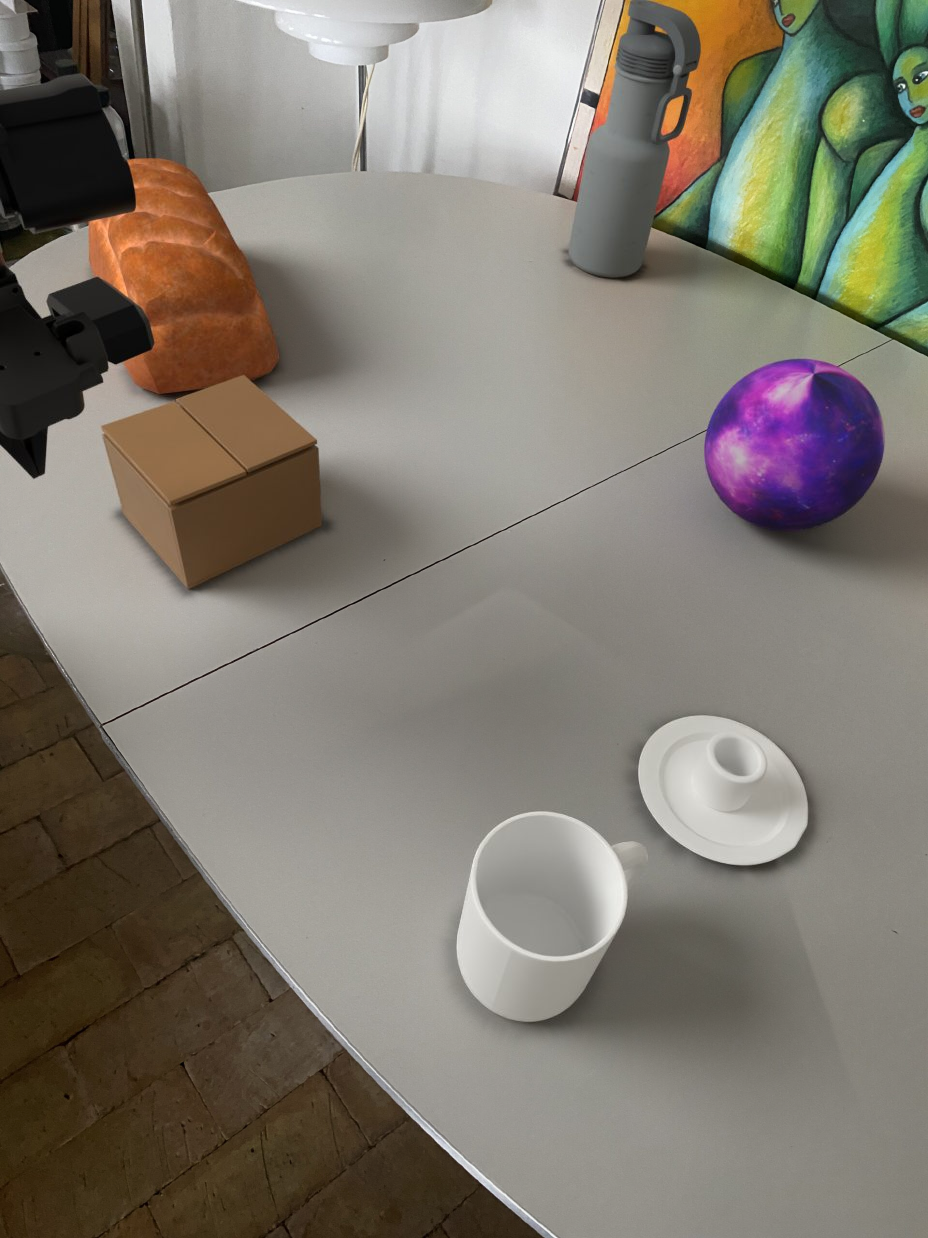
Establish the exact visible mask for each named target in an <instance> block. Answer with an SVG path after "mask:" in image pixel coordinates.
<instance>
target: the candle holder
mask: <svg viewBox="0 0 928 1238" xmlns="http://www.w3.org/2000/svg"><path fill="white" fill-rule="evenodd" d="M637 768H638V770H637V771H638V772H637V773H638V774H637V775H638V783H639V784H638V785H639V789H640V792H641V795H642V798H643V800H644V802H645V803H644V804H645V805H646V807H647V809H648V810H649V812H650V814H651V815H652V817H653V818H654V819H655V821H656V822H657V823H658V824H659V826H660V827H661V828H662V829H663V830H664V831H665V833H667V834H668V835H669V836H670V837H671V838H672V839H673V840H674V841H676V842H677V843H678V844H680V845H681V846H683V847H685V848H686V849H687V850H689V851H691V852H693V853H695V855H699V856H701V857H703V858H706V859H708V860H710V861H714V862H717V863H722V864H725V865H733V866H754V865H760V864H764V863H768V862H771V861H774V860H777V859H778V858H780V857H782V856H783V855H786V854H788V853H789V852H790V851H792V850H793V849H795V848H796V846H797V845H798V843H799V841H800V839H801V838H802V836H803V834H804V832H805V831H806V829H807V826H808V822H809V821H808V820H809V819H808V818H809V804H808V796H807V792H806V788H805V785H804V782H803V780H802V778H801V776H800V774H799V772H798V770H797V768H796V767H795V765H794V764H793V762H792V761H791V759H790V758H789V757H788V756H787V755H786V754H785V752H784V751H783V750H782V749H780V747H779V746H778V745H777V744H775V743H774V742H773V741H772V740H771V739H769V737H767V736H765V735H764V734H762V733H761V732H759V731H757V730H756V729H754V728H752V727H750V726H748V725H746V724H744V723H741V722H738V721H736V720H733V719H730V718H726V717H723V716H722V717H721V716H715V715H705V714H704V715H703V714H702V715H701V714H700V715H689V716H684V717H680V718H676V719H673V720H671V721H669V722H668V723H665V724H664V725H662V726H660V727H659V728H658V729H657V730H655V732H654V733H652V735H651V736H650V737H649V738H648V740H647V741H646V742H645V744H644V746H643V748H642V750H641V753H640V756H639V761H638V767H637Z"/></svg>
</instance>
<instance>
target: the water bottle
mask: <svg viewBox="0 0 928 1238" xmlns="http://www.w3.org/2000/svg"><path fill="white" fill-rule="evenodd" d="M627 16H628V17H629V21H628V25H627V29H626V33H623V34H622V35H621V36H620V37H619V41H618V46H617V51H616V52H617V53H616V57H615V63H614V65H613V68H614V71H615V72H614V73H615V74H614V78H613V84H612V89H611V94H610V99H609V104H608V109H607V114H606V119H605V123H604V124H602V125H600V126H597V128H596V129H595V130H594V131H592V133H591V134H590V136H589V139H588V142H587V145H586V152H585V155H584V163H583V167H582V172H581V173H582V174H581V178H580V183H579V189H578V195H577V199H576V205H575V211H574V215H573V222H572V227H571V232H570V239H569V244H568V257H569V259H570V261H571V262H572V263H573V265H575V266H576V267H577V268H578V269H579V270H581V271H583V272H586V273H588V274H589V275H594V276H596V277H602V278H614V279H615V278H624V277H629V276H631V275H633V274H635V273H636V272H637V271H639V269H640V268H641V267H642V265H643V263H644V258H645V255H646V250H647V246H648V242H649V240H650V239H649V238H650V234H651V230H652V227H653V223H654V218H655V215H656V211H657V207H658V202H659V199H660V195H661V191H662V187H663V183H664V179H665V175H666V171H667V168H668V162H669V159H670V153H671V149H670V145H669V142H670V141H672V140H674V139H677V138H678V137H680V135H681V134H682V131H683V130H684V127H685V124H686V121H687V116H688V114H689V110H690V109H689V108H690V104H691V100H692V98H693V91H692V89H691V88H689V87H687V85H688V82H689V78H690V74H691V72H694V71H696V70H697V69H698V67H699V63H700V59H701V54H702V47H701V46H702V44H701V38H700V34H699V30H698V29H697V26H696V24H695V23H694V21H693V20H692V18H690V16H689V15H688V14H686V13H685V12H684V11H682V10H679V9H677V8H674V7H671V6H668V5H665V4H662V3H659V2H657V1H653V0H630V1H629V5H628V10H627ZM656 27H657V28H659V29H661V30H662V31H663V32H662V31H658V30H656ZM680 97H683V100H682V104H681V109H680V112H679V117H678V120H677V123H676V125H675V127H674V129H673V130H672V131H670V132H669V133H665V134H662V129H663V124H664V122H665V117H666V113H667V112H666V111H667V109H668V105H669V104H670V102H671V101H673V100H675V99H678V98H680Z"/></svg>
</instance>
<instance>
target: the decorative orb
mask: <svg viewBox="0 0 928 1238" xmlns="http://www.w3.org/2000/svg"><path fill="white" fill-rule="evenodd" d="M885 445H886V432H885V425H884V420H883V416H882V412H881V410H880V408H879V405H878V403H877V402H876V400H875V398H874V396H873V394H872V393H871V392H870V390H869V389H868V388H867V387H866V386H865V384H864V383H862V381H860V380H859V379H858V378H857V377H856V376H854V375H853V374H852V373H850V372H848V370H845V369H844V368H841V367H840V366H838V365H835V364H832V363H830V362H827V361H823V360H819V359H812V358H789V359H784V360H779V361H774V362H771V363H767V364H766V365H765V364H764V365H763V366H761V367H757V368H756V369H755V370H752V371H751V372H749V373H748V374H746V375H744V376H743V377H742V378H741V379H739V380H738V381H737V382H736V383H734V385H732V386H731V387H730V388H729V389H728V390H727V392H725V394H724V395H723V397H722V398H721V399H720V401H719V402H718V404H717V405H716V407H715V408H714V410H713V412H712V414H711V416H710V420H709V421H708V425H707V428H706V432H705V436H704V446H703V451H704V452H703V454H704V455H703V457H704V465H705V470H706V474H707V476H708V480H709V482H710V484H711V486H712V488H713V490H714V492H715V493H716V495H717V496H718V498H719V499H720V501H721V502H722V503H723V504H724V506H726V507H727V508H728V509H729V510H730V511H731V512H732V513H734V514H735V515H736V516H738V517H739V518H741V519H742V520H744V521H746V522H748V523H750V524H752V525H754V526H757V527H760V528H764V529H766V530H771V531H779V532H797V531H798V532H799V531H806V530H809V529H813V528H818V527H820V526H823V525H826V524H828V523H830V522H832V521H834V520H836V519H838V518H839V517H842V516H843V515H844V514H845V513H847V512H848V511H850V510H851V509H852V508H853V507H855V505H856V504H858V503H859V502H860V500H862V499H863V498H864V496H865V495H866V494H867V492H868V491H869V490H870V488H871V487H872V485H873V483H874V482H875V480H876V477H877V476H878V473H879V472H880V469H881V465H882V462H883V459H884V453H885Z"/></svg>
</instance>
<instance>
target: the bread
mask: <svg viewBox="0 0 928 1238" xmlns="http://www.w3.org/2000/svg"><path fill="white" fill-rule="evenodd" d="M126 161H127V162H128V164H129V167H130V170H131V174H132V178H133V183H134V188H135V195H136V208H135V211H134V212H130V213H125V214H121V215H116V216H112V217H107V218H103V219H98V220H94V221H89V222H88V262H89V266H90V269H91V273H92V274H93V278H95V277H97V276H98V277H99V278H101V279H103V280H105V281H107V282H108V283H110V284H111V285H113V286H114V287H115V288H116V289H118V290H119V291H120V292H122V293H123V294H124V295H125V296H127V297H128V298H129V299H131V300H132V301H133V302H135V303H136V304H137V305H138V306H140V307H141V308H142V309H143V311H144V313H145V314H146V316H147V318H148V319H149V322H150V326H151V330H152V334H153V338H154V342H155V343H154V346H153V348H152V350H150V351H148V352H145V353H143V354H140V355H138V356H136V357H133V358H131V359H128V360H126V361H124V362H122V363H123V366H124V368H125V370H126V372H127V373H128V375H129V376H130V378H131V380H132V381H133V384H134V385H135V386H137V387H140V388H143V389H145V390H147V391H150V392H152V393H155V394H156V395H162V394H170V393H179V392H187V391H197V390H203V389H206V388H208V387H211V386H214V385H217V384H219V383H222V382H225V381H228V380H231V379H233V378H236V377H239V376H242V375H245V376H246V377H247V378H248V379H249V380H250V381H251V382H252V381H254V380H257V379H260V378H262V377H264V376H266V375H268V374H270V373H271V372H272V371H273V370H274V368H275V367H276V365H277V364H278V363H279V361H280V354H279V347H278V344H277V340H276V336H275V332H274V330H273V326H272V323H271V321H270V318H269V314H268V311H267V309H266V307H265V304H264V302H263V299H262V296H261V295H260V293H259V291H258V288H257V285H256V282H255V278H254V275H253V271H252V269H251V266H250V263H249V261H248V259H247V258H246V255H245V254H244V252H243V250H242V249H241V248H240V247H239V246H238V244H237V242H236V241H235V238H234V237H233V235H232V233H231V231H230V229H229V227H228V225H227V223H226V221H225V220H224V218H223V215H222V213H221V212H220V210H219V209H218V207H217V205H216V203H215V201H214V200H213V199H212V198H211V196H210V194H209V193H208V191H207V189H206V188H205V186H204V185H203V183H202V182H201V180H200V178H199V177H198V175H196V173H195V172H193V170H191V169H190V168H188V167H187V166H185V165H183V164H180V163H178V162H175V161H173V160H170V159H164V158H153V157H151V158H150V157H148V158H147V157H146V158H145V157H144V158H131V159H126Z"/></svg>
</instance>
